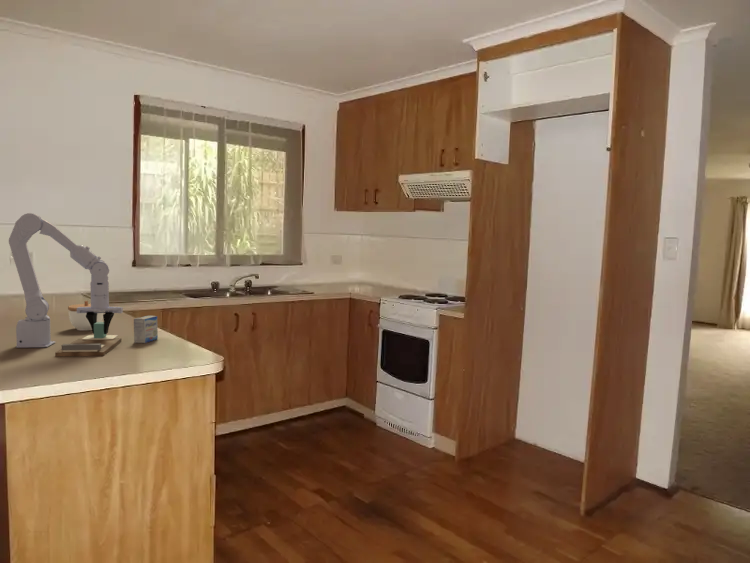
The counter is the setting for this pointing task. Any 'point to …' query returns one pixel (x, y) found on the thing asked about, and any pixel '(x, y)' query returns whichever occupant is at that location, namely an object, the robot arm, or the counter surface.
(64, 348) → the grey flat block
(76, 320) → the lidded bowl
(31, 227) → the robot arm
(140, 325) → the medicine box
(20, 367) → the counter surface
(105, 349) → the board
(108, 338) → the cream plaque with block
